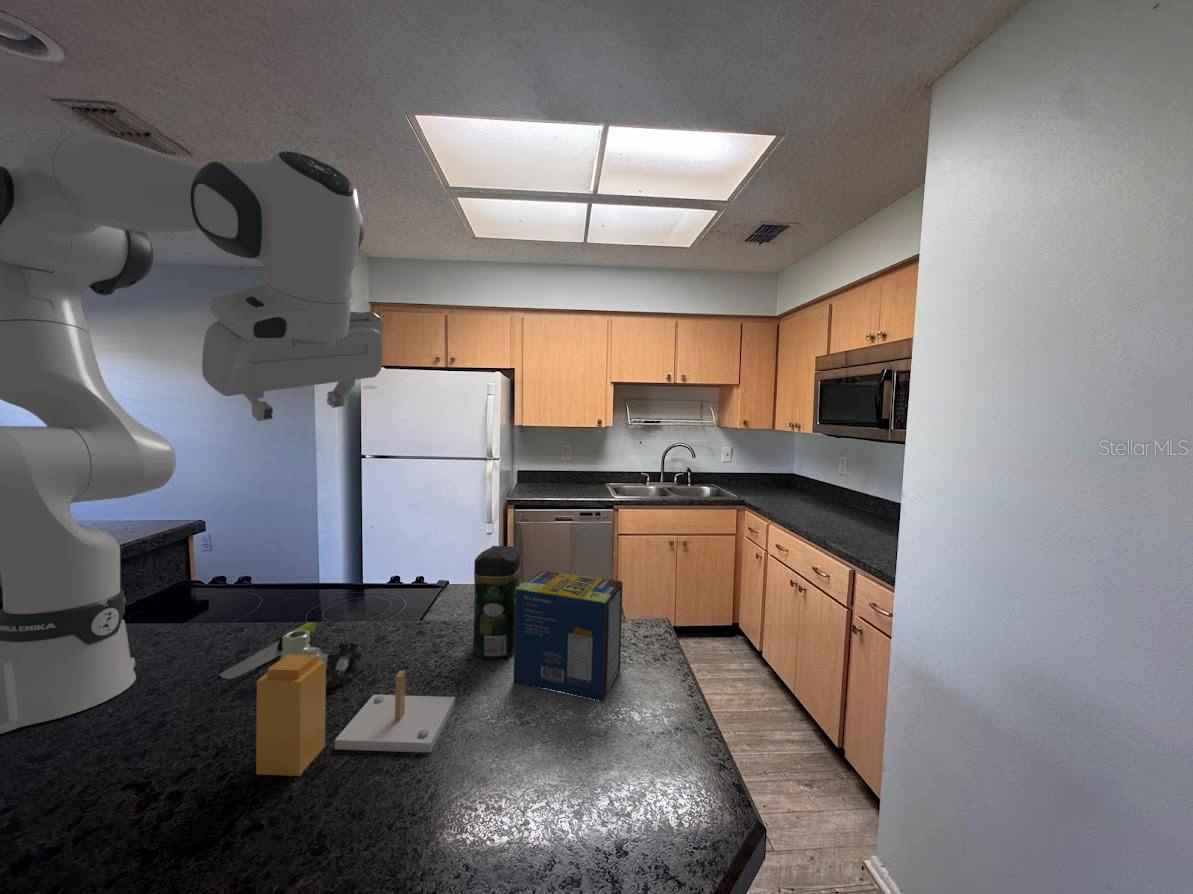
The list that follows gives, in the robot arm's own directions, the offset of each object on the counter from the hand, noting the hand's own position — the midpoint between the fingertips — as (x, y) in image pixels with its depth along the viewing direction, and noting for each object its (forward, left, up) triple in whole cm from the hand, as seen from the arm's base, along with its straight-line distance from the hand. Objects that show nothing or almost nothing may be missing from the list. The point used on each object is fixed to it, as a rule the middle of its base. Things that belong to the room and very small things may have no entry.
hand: (301, 411), depth 62 cm
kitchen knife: (-14, +15, -42) cm, 47 cm away
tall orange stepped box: (+4, -7, -42) cm, 43 cm away
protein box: (+36, +14, -42) cm, 57 cm away
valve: (-4, +11, -43) cm, 44 cm away
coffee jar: (+22, +23, -42) cm, 53 cm away
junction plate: (+14, 0, -42) cm, 44 cm away
